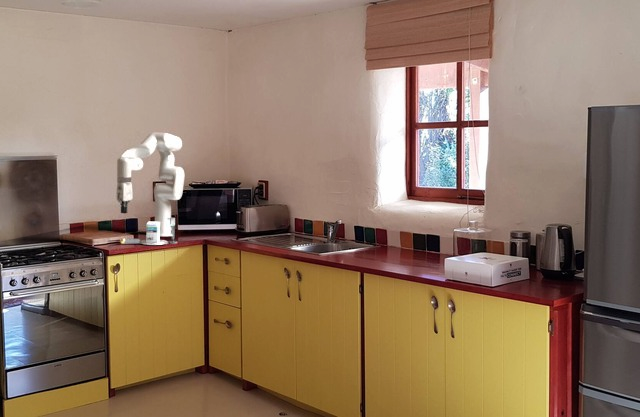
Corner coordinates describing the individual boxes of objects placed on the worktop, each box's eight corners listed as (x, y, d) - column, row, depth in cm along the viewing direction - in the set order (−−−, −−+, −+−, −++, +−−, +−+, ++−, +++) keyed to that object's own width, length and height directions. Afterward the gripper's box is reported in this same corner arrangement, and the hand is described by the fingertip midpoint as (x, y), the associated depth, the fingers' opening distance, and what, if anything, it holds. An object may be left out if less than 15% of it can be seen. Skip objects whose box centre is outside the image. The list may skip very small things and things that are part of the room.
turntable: (117, 242, 422) (118, 236, 422) (163, 241, 433) (164, 235, 433) (123, 246, 408) (123, 241, 407) (171, 245, 419) (171, 239, 419)
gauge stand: (169, 242, 430) (169, 217, 428) (177, 243, 428) (177, 217, 427) (166, 243, 426) (166, 217, 425) (174, 244, 425) (174, 218, 423)
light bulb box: (158, 243, 418) (158, 224, 417) (145, 242, 417) (146, 223, 416) (159, 240, 428) (160, 221, 427) (147, 239, 428) (148, 221, 427)
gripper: (123, 181, 407) (123, 215, 409) (137, 179, 421) (136, 212, 424) (110, 181, 409) (110, 214, 411) (125, 179, 423) (125, 211, 425)
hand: (124, 213), depth 417 cm, fingers closed
